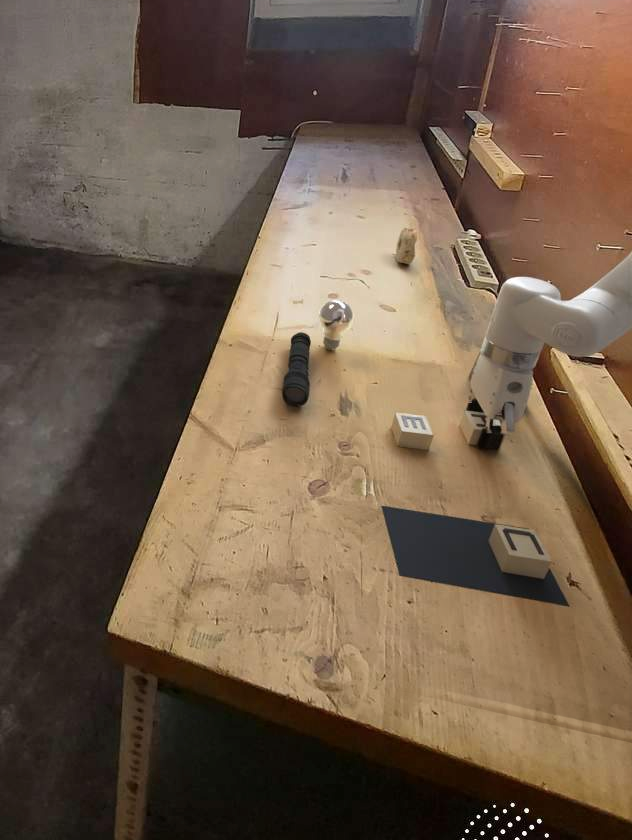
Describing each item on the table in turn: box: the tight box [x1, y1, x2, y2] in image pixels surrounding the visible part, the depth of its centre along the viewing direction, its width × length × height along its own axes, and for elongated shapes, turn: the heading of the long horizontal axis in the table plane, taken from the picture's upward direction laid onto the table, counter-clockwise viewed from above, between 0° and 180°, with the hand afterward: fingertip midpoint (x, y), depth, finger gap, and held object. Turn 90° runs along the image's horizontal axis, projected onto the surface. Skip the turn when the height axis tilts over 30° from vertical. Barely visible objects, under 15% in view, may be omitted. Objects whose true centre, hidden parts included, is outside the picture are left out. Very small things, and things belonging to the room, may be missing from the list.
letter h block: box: [458, 409, 506, 449], centre depth 99 cm, size 5×5×4 cm
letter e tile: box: [390, 412, 434, 451], centre depth 99 cm, size 5×5×4 cm
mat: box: [380, 505, 570, 608], centre depth 79 cm, size 20×12×1 cm, turn 76°
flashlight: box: [281, 331, 312, 407], centre depth 116 cm, size 5×21×5 cm, turn 159°
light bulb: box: [318, 299, 355, 351], centre depth 123 cm, size 7×7×12 cm
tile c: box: [489, 523, 553, 579], centre depth 77 cm, size 5×5×4 cm
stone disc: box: [395, 227, 418, 265], centre depth 162 cm, size 10×4×10 cm, turn 161°
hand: (480, 433), depth 100 cm, fingers open, 6 cm apart
